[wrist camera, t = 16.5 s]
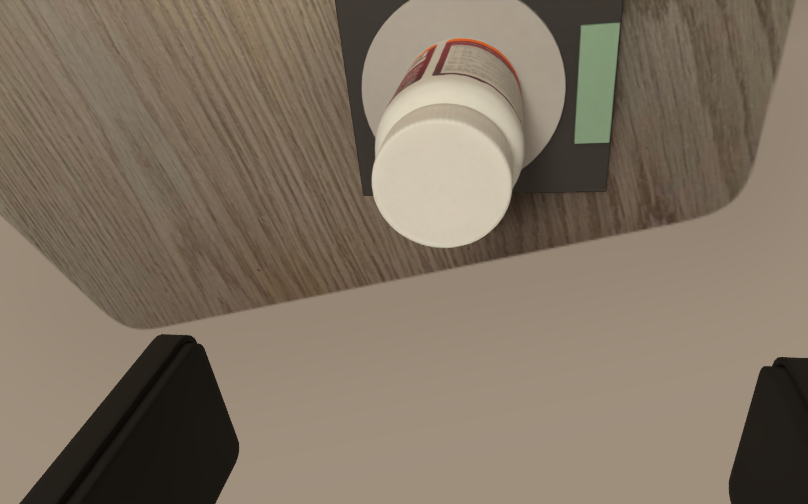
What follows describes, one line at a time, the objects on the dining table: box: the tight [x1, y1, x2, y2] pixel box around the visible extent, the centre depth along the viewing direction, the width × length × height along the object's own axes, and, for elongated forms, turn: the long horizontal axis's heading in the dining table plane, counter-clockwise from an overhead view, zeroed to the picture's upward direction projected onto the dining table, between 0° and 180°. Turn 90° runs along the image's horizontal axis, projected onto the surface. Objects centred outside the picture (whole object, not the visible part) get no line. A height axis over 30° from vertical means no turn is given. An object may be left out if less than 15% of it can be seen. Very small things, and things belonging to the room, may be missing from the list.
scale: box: [335, 0, 623, 196], centre depth 32 cm, size 14×12×3 cm
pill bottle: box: [372, 37, 525, 248], centre depth 26 cm, size 6×6×11 cm
